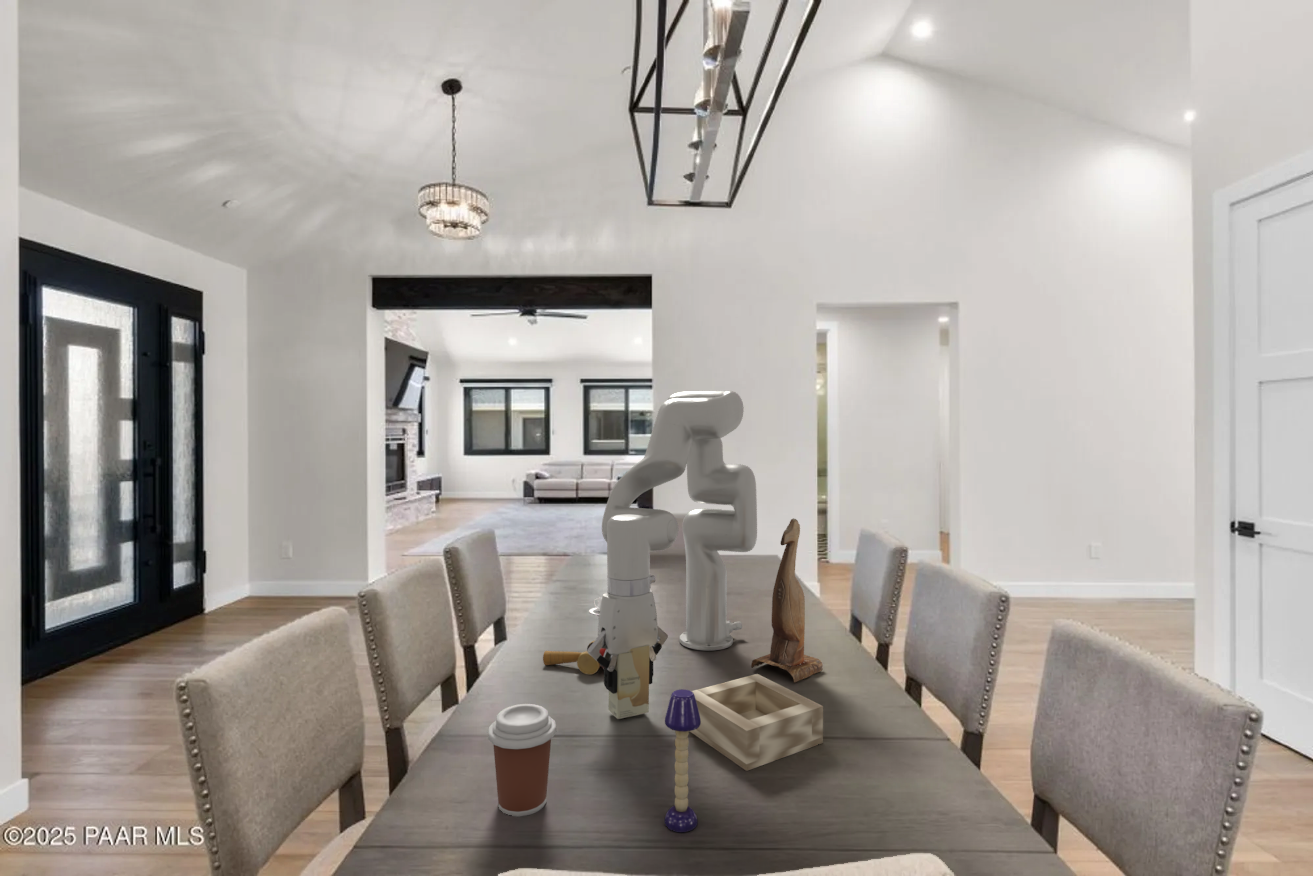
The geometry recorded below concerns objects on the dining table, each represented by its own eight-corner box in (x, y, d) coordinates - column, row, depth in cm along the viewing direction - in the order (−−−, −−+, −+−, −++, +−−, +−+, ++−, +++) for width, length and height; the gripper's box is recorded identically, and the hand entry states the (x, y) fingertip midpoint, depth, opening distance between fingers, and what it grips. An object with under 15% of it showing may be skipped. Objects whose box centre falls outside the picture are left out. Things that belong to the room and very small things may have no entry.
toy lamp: (662, 811, 85) (663, 686, 85) (697, 809, 86) (698, 685, 85) (666, 834, 80) (666, 701, 80) (703, 832, 81) (703, 700, 81)
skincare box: (617, 720, 110) (617, 650, 110) (607, 710, 114) (607, 642, 114) (651, 712, 113) (650, 644, 113) (640, 702, 117) (639, 636, 117)
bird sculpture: (748, 671, 134) (749, 518, 134) (779, 656, 143) (779, 513, 142) (795, 686, 127) (797, 524, 126) (824, 669, 135) (826, 518, 135)
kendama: (538, 679, 133) (621, 674, 129) (536, 647, 135) (618, 642, 131) (553, 672, 141) (632, 667, 137) (551, 642, 142) (629, 637, 138)
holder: (756, 706, 117) (757, 673, 117) (822, 743, 104) (823, 706, 104) (684, 728, 109) (685, 692, 109) (746, 771, 95) (746, 730, 95)
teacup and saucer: (625, 611, 179) (625, 597, 179) (608, 618, 172) (608, 603, 172) (600, 607, 183) (600, 592, 183) (583, 613, 177) (583, 599, 177)
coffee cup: (560, 783, 92) (560, 699, 92) (551, 822, 83) (551, 729, 83) (495, 784, 92) (495, 700, 91) (480, 823, 83) (480, 730, 82)
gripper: (658, 574, 121) (659, 668, 121) (574, 588, 112) (575, 689, 112) (681, 583, 114) (681, 682, 115) (594, 598, 105) (594, 706, 106)
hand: (629, 685), depth 114 cm, fingers closed on skincare box, 6 cm apart
